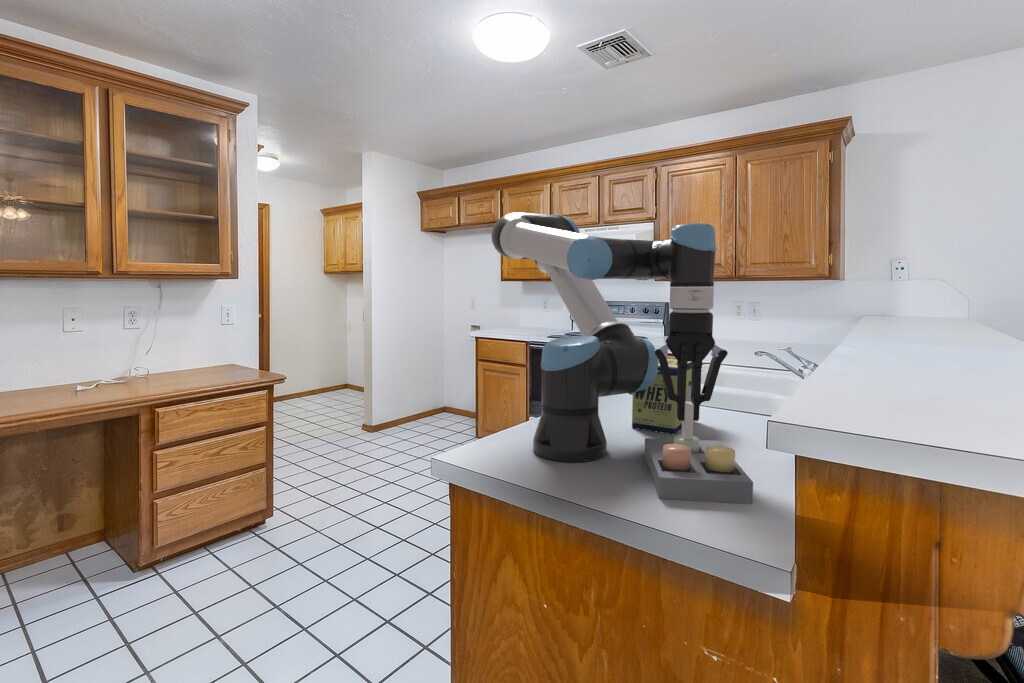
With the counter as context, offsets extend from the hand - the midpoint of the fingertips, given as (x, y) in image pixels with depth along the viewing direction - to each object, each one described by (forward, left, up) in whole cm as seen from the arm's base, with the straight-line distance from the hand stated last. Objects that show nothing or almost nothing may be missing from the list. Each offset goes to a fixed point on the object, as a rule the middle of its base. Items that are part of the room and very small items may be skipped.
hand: (687, 437), depth 93 cm
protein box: (0, +30, -6) cm, 30 cm away
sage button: (0, 0, -3) cm, 3 cm away
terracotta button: (-4, -10, -2) cm, 11 cm away
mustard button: (+3, -10, -2) cm, 11 cm away
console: (0, -5, -6) cm, 7 cm away
